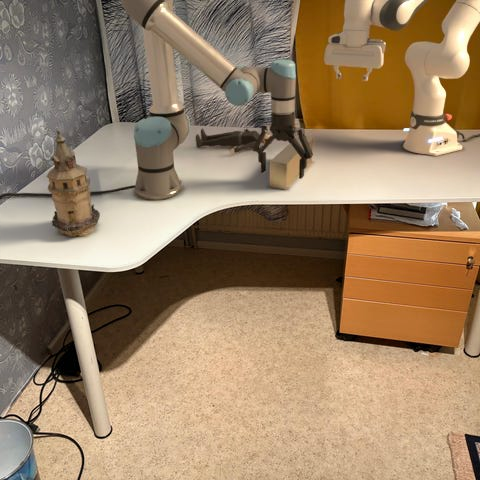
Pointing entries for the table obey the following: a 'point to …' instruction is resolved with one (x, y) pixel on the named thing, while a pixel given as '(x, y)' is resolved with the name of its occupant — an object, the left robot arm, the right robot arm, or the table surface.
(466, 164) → the table surface
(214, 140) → the toy
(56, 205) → the miniature building
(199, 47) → the left robot arm
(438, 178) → the table surface
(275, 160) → the box
